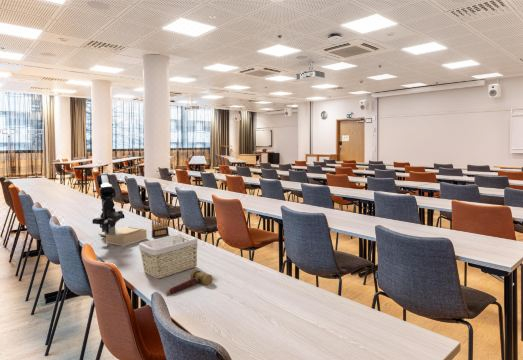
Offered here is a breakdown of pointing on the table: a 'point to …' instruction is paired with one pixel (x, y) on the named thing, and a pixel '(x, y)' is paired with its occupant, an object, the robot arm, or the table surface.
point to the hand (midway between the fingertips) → (109, 232)
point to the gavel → (192, 281)
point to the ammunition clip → (159, 228)
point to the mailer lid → (118, 231)
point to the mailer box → (128, 238)
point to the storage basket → (169, 255)
